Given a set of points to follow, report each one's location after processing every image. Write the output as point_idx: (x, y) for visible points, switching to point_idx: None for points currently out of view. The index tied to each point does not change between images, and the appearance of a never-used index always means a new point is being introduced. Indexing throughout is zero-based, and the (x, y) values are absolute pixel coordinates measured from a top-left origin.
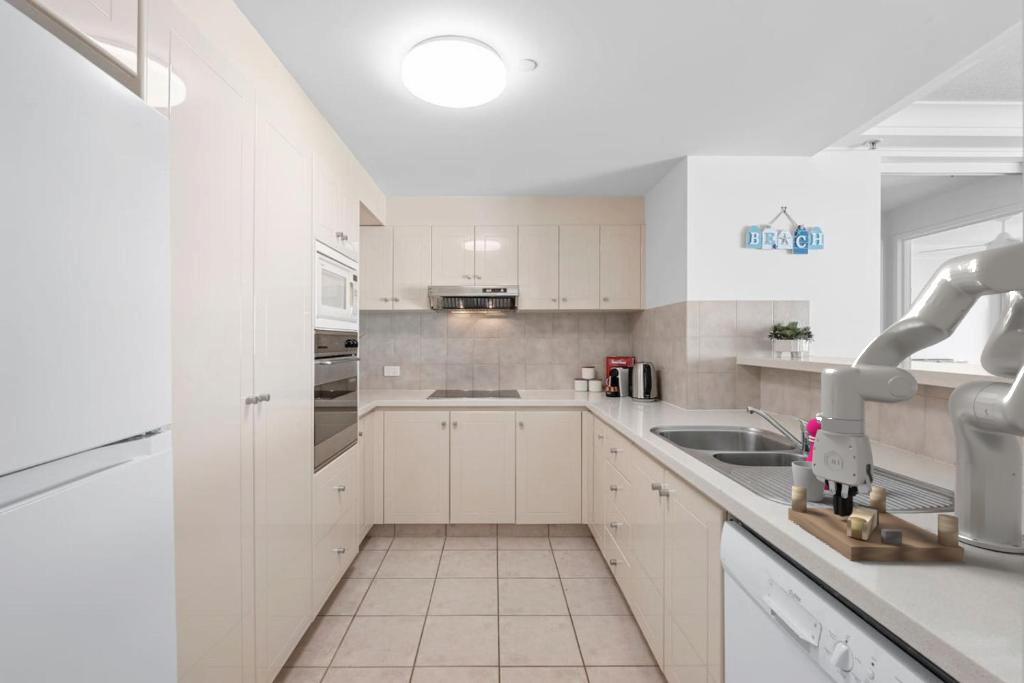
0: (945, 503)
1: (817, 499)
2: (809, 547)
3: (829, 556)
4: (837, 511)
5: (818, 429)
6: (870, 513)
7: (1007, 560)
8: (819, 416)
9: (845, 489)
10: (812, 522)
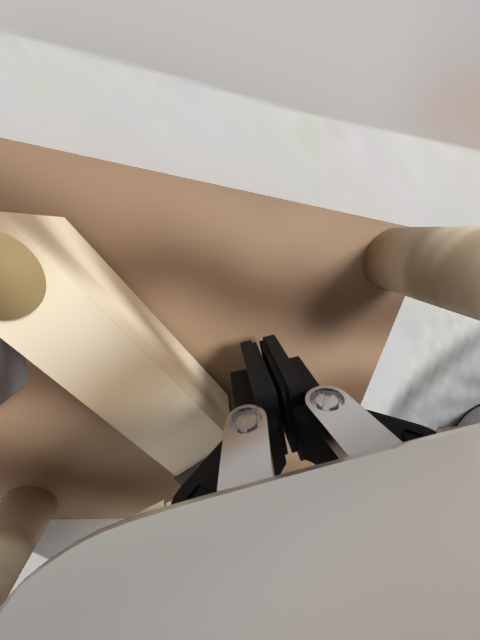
0: None
1: None
2: (124, 63)
3: (25, 77)
4: (261, 344)
5: None
6: (129, 422)
7: (56, 553)
8: None
9: (240, 459)
10: (254, 195)
